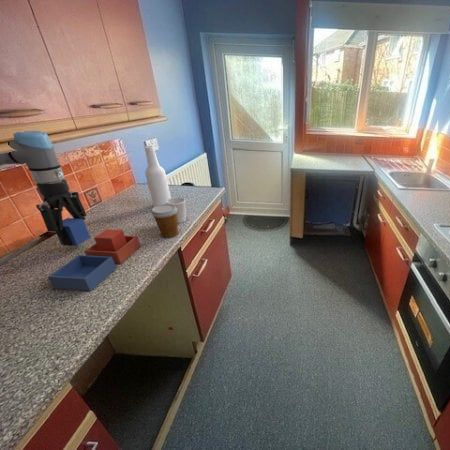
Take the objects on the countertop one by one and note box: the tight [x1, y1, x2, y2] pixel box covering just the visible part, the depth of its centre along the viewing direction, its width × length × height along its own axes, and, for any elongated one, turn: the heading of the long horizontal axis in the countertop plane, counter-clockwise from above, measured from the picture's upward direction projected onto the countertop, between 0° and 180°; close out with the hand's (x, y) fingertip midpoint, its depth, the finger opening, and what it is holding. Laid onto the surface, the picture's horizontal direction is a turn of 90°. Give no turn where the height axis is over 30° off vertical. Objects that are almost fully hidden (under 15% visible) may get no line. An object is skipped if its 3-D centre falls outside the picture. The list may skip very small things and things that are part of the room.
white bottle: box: [144, 145, 172, 208], centre depth 124 cm, size 9×9×30 cm
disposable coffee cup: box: [150, 204, 179, 238], centre depth 103 cm, size 10×10×12 cm
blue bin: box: [47, 254, 117, 292], centre depth 79 cm, size 11×11×5 cm
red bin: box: [84, 235, 141, 264], centre depth 91 cm, size 11×11×5 cm
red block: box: [93, 228, 127, 252], centre depth 90 cm, size 6×6×8 cm
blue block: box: [58, 217, 91, 247], centre depth 91 cm, size 6×6×8 cm
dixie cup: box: [165, 196, 187, 224], centre depth 114 cm, size 8×8×10 cm
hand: (76, 240), depth 93 cm, fingers closed on blue block, 6 cm apart
